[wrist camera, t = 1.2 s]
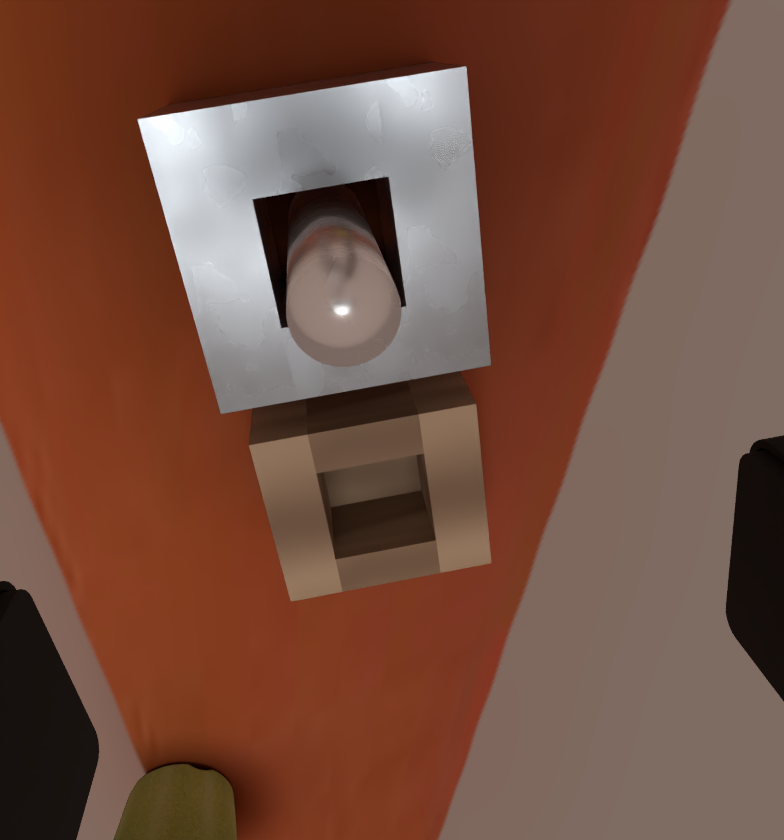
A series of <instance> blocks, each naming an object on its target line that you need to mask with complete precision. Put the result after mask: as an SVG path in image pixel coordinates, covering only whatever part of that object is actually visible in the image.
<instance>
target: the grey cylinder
mask: <svg viewBox="0 0 784 840" xmlns="http://www.w3.org/2000/svg"><path fill="white" fill-rule="evenodd" d="M401 312H402V310H401V301H400V297H399V294H398V291H397V289H396V286H395V284H394V282H393V279H392V277H391V275H390V272H389V270H388V268H387V265H386V263H385V261H384V258H383V256H382V254H381V252H380V249H379V247H378V245H377V242H376V240H375V238H374V235H373V233H372V231H371V228H370V226H369V224H368V221H367V219H366V217H365V214H364V212H363V210H362V207H361V205H360V203H359V201H358V199H357V197H356V196H355V194H354V193H353V192H352V191H351V190H350V189H349V188H348V187H347V186H345V185H344V184H340V185H334V186H328V187H322V188H316V189H310V190H304V191H298V192H296V194H295V195H294V197H293V198H292V200H291V203H290V206H289V211H288V245H287V295H286V318H287V324H288V328H289V331H290V333H291V335H292V338H293V339H294V341H295V342H296V344H297V345H298V346H299V348H300V349H301V350H302V351H303V352H304V353H306V354H307V355H308V356H310V357H311V358H313V359H314V360H316V361H318V362H321V363H323V364H326V365H330V366H336V367H350V366H356V365H360V364H363V363H366V362H368V361H370V360H372V359H374V358H376V357H377V356H378V355H380V354H381V353H382V352H383V351H384V350H386V348H387V347H388V346H389V345H390V344H391V342H392V341H393V339H394V338H395V336H396V334H397V331H398V329H399V326H400V321H401Z"/></svg>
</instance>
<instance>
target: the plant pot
mask: <svg viewBox="0 0 784 840" xmlns="http://www.w3.org/2000/svg"><path fill="white" fill-rule="evenodd" d="M114 840H237V831H236V815H235V805H234V794H233V789H232V787H231V785H230V783H229V782H228V780H227V779H226V778H225V777H224V776H223V775H221V774H220V773H218V772H216V771H215V770H200V769H197V768H194V767H192V766H191V765H189V764H175V765H169V766H165V767H161V768H159V769H156V770H154V771H151V772H149V773H148V774H146V775H144V776H143V777H142V778H141V779H140V780H139V781H138V782H137V783H136V785H135V787H134V788H133V790H132V791H131V793H130V795H129V798H128V800H127V803H126V806H125V808H124V811H123V814H122V818H121V820H120V823H119V826H118V829H117V831H116V834H115V837H114Z"/></svg>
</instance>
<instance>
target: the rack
mask: <svg viewBox="0 0 784 840" xmlns="http://www.w3.org/2000/svg"><path fill="white" fill-rule="evenodd" d="M249 448H250V451H251V455H252V459H253V463H254V466H255V470H256V474H257V477H258V481H259V485H260V489H261V492H262V496H263V500H264V503H265V507H266V511H267V515H268V518H269V522H270V526H271V529H272V533H273V537H274V541H275V544H276V548H277V552H278V555H279V559H280V563H281V567H282V570H283V574H284V578H285V581H286V585H287V589H288V593H289V596H290V600H291V601H296V600H302V599H307V598H312V597H317V596H322V595H328V594H333V593H338V592H343V591H348V590H354V589H359V588H364V587H369V586H374V585H380V584H385V583H390V582H395V581H400V580H406V579H411V578H416V577H421V576H426V575H432V574H437V573H442V572H447V571H452V570H458V569H463V568H468V567H473V566H478V565H484V564H489V563H491V554H490V543H489V533H488V522H487V512H486V501H485V491H484V480H483V470H482V460H481V449H480V439H479V428H478V418H477V407H476V403H475V401H474V399H473V397H472V395H471V393H470V391H469V389H468V387H467V385H466V383H465V381H464V379H463V377H462V375H461V373H460V371H456V372H451V373H445V374H440V375H434V376H429V377H423V378H418V379H412V380H407V381H401V382H395V383H390V384H384V385H379V386H373V387H368V388H362V389H357V390H351V391H346V392H340V393H334V394H329V395H323V396H318V397H312V398H307V399H301V400H296V401H290V402H284V403H279V404H273V405H268V406H262V407H257V408H253V411H252V420H251V430H250V439H249Z"/></svg>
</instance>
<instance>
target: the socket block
mask: <svg viewBox="0 0 784 840" xmlns="http://www.w3.org/2000/svg"><path fill="white" fill-rule="evenodd" d="M138 123H139V126H140V130H141V134H142V137H143V141H144V144H145V148H146V151H147V155H148V158H149V162H150V165H151V169H152V172H153V176H154V179H155V183H156V186H157V190H158V193H159V197H160V201H161V204H162V208H163V211H164V215H165V218H166V222H167V225H168V229H169V232H170V236H171V239H172V243H173V246H174V250H175V253H176V257H177V261H178V264H179V268H180V271H181V275H182V278H183V282H184V285H185V289H186V292H187V296H188V299H189V303H190V306H191V310H192V313H193V317H194V320H195V324H196V328H197V331H198V335H199V338H200V342H201V345H202V349H203V352H204V356H205V359H206V363H207V366H208V370H209V373H210V377H211V380H212V384H213V387H214V391H215V395H216V398H217V402H218V405H219V409H220V412H221V414H223V413H229V412H235V411H240V410H246V409H251V408H257V407H262V406H268V405H273V404H279V403H284V402H290V401H296V400H301V399H307V398H312V397H318V396H323V395H329V394H334V393H340V392H346V391H351V390H357V389H362V388H368V387H373V386H379V385H384V384H390V383H395V382H401V381H407V380H412V379H418V378H423V377H429V376H434V375H440V374H445V373H451V372H456V371H462V370H468V369H473V368H479V367H484V366H490V365H491V359H490V347H489V335H488V323H487V311H486V299H485V287H484V275H483V262H482V250H481V238H480V226H479V214H478V202H477V190H476V178H475V165H474V153H473V141H472V129H471V117H470V105H469V93H468V80H467V68H466V66H461V65H452V64H444V63H436V62H430V63H424V64H417V65H411V66H405V67H399V68H393V69H386V70H380V71H374V72H368V73H362V74H355V75H349V76H343V77H337V78H331V79H324V80H318V81H312V82H306V83H300V84H293V85H287V86H281V87H275V88H268V89H262V90H256V91H250V92H244V93H237V94H231V95H225V96H219V97H213V98H206V99H200V100H194V101H188V102H182V103H175V104H169V105H166V106H164V107H162V108H160V109H158V110H156V111H154V112H152V113H150V114H148V115H145V116H143V117H141V118H139V119H138ZM370 179H375V186H376V193H377V199H378V206H379V213H380V220H381V227H382V234H383V241H384V247H385V254H386V261H385V263H386V265H387V268H388V270H389V272H390V275H391V277H392V279H393V282H394V284H395V286H396V289H397V291H398V294H399V297H400V301H401V310H402V312H401V321H400V326H399V329H398V331H397V334H396V336H395V338H394V339H393V341H392V342H391V344H390V345H389V346H388V347H387V348H386V350H384V351H383V352H382V353H381V354H380V355H378V356H377V357H376V358H374V359H372V360H370V361H368V362H366V363H363V364H360V365H356V366H350V367H336V366H330V365H326V364H323V363H321V362H318V361H316V360H314V359H313V358H311V357H310V356H308V355H307V354H306V353H304V352H303V351H302V350H301V349H300V348H299V346H298V345H297V344H296V342H295V341H294V339H293V338H292V335H291V333H290V331H289V328H288V324H287V318H286V295H287V279H283V277H282V272H281V267H280V263H279V258H278V253H277V249H276V244H275V240H274V235H273V230H272V226H271V221H270V216H269V212H268V207H267V203H266V198H265V197H268V196H274V195H280V194H286V193H292V192H298V191H304V190H310V189H316V188H322V187H328V186H334V185H340V184H346V183H352V182H358V181H364V180H370Z"/></svg>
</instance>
